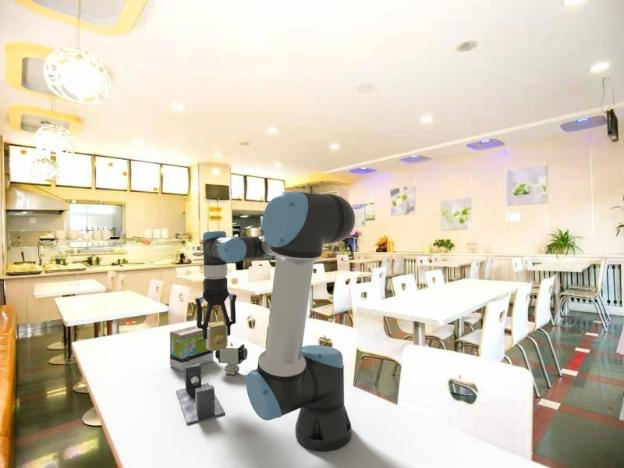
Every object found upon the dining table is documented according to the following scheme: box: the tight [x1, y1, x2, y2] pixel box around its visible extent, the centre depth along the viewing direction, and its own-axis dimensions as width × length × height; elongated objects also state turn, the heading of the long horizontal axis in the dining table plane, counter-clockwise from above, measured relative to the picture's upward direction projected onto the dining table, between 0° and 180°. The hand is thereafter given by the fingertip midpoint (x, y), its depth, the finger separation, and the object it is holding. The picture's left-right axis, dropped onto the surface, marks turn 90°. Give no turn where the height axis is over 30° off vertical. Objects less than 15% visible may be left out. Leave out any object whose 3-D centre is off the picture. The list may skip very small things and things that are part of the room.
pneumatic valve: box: [214, 342, 248, 376], centre depth 136 cm, size 6×12×12 cm, turn 78°
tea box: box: [169, 324, 214, 372], centre depth 147 cm, size 15×10×15 cm, turn 143°
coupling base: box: [175, 363, 226, 426], centre depth 112 cm, size 24×11×9 cm, turn 28°
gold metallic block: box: [208, 320, 226, 352], centre depth 115 cm, size 8×5×8 cm, turn 27°
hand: (217, 346), depth 115 cm, fingers closed on gold metallic block, 5 cm apart
